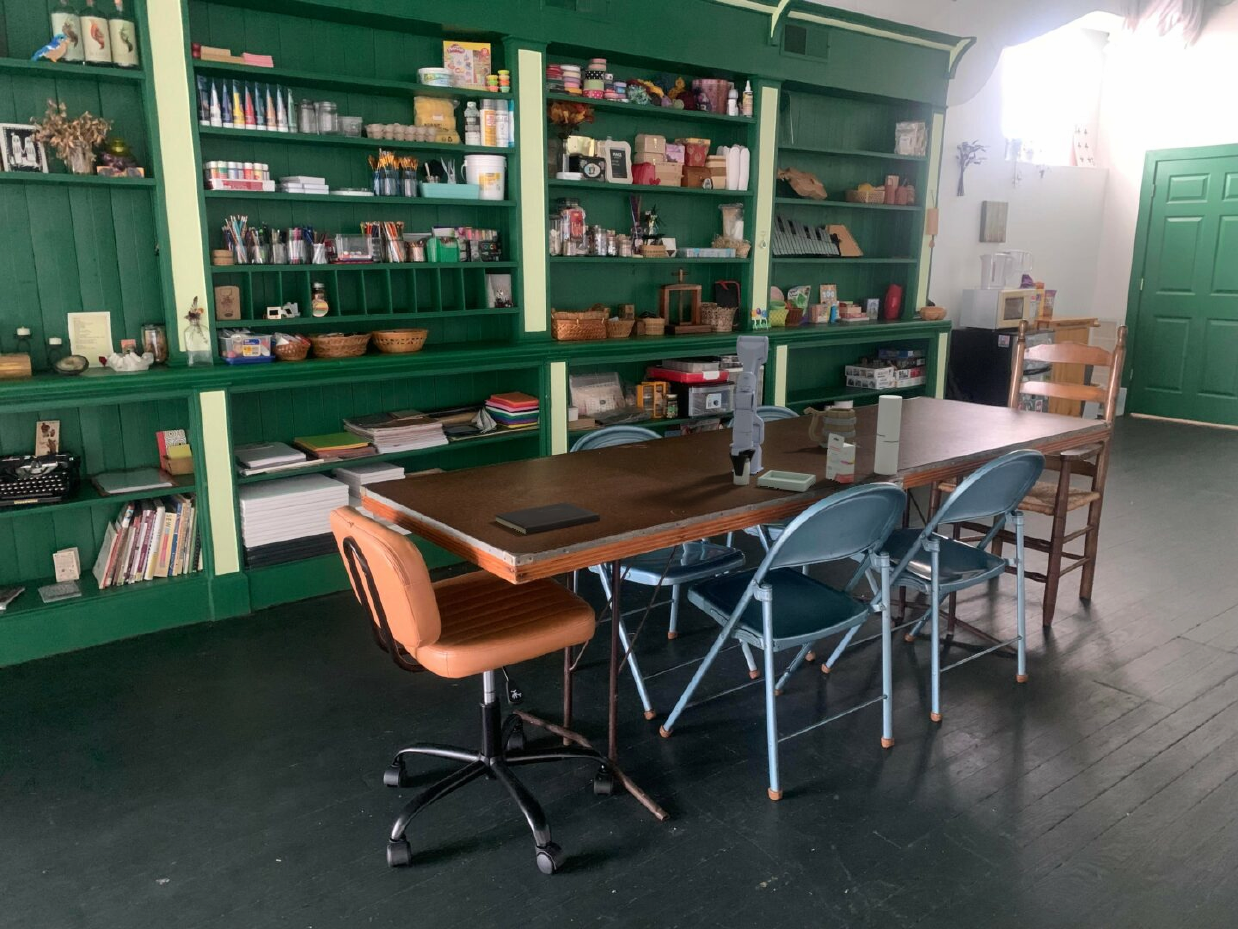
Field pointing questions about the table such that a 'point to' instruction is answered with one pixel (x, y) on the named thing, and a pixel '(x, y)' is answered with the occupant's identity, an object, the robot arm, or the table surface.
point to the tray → (787, 480)
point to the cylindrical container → (888, 434)
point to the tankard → (833, 425)
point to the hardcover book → (547, 518)
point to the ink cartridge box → (840, 460)
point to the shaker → (745, 477)
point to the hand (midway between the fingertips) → (741, 474)
